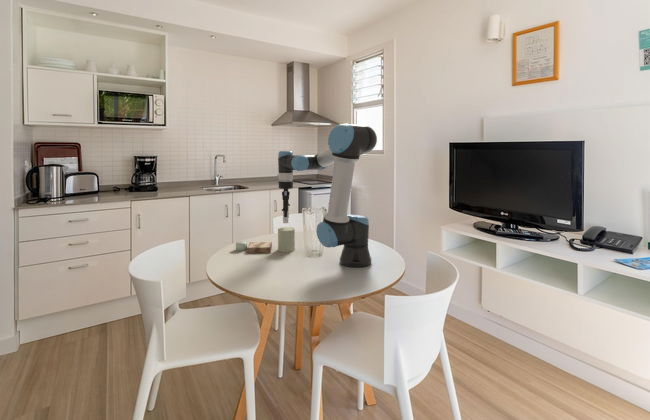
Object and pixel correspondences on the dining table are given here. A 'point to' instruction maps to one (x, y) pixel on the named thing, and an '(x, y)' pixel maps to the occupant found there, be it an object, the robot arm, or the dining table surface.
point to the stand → (259, 247)
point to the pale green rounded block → (241, 246)
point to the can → (286, 239)
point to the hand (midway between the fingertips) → (286, 220)
